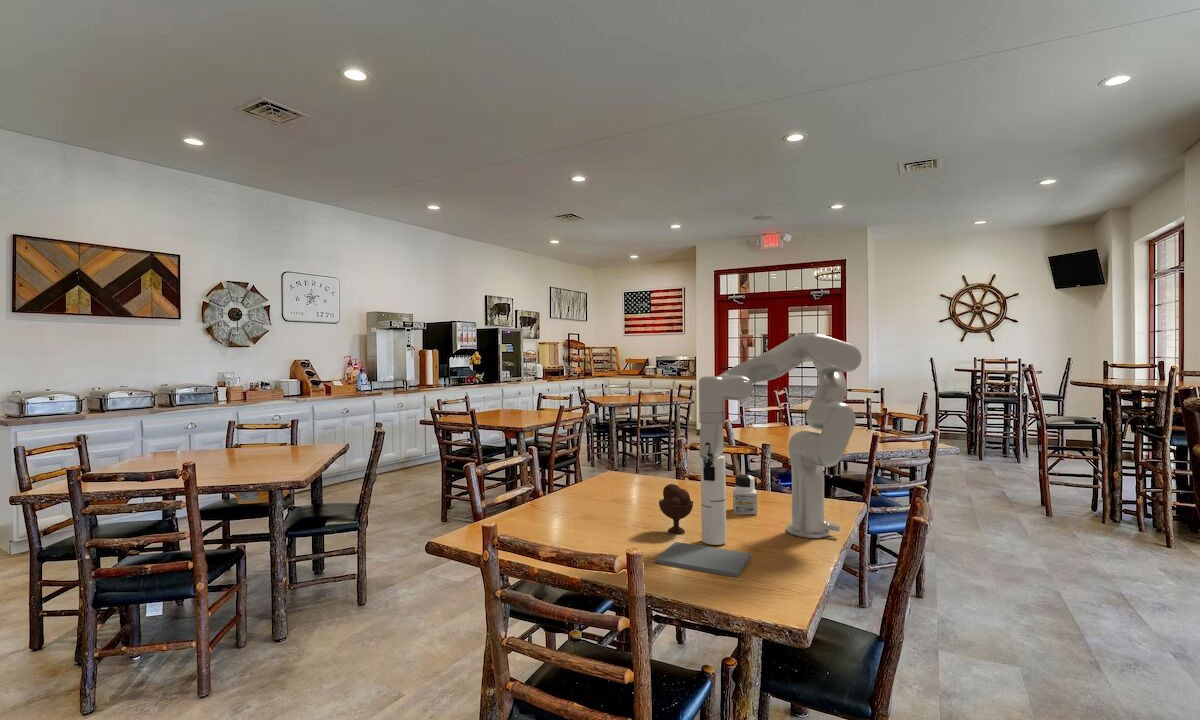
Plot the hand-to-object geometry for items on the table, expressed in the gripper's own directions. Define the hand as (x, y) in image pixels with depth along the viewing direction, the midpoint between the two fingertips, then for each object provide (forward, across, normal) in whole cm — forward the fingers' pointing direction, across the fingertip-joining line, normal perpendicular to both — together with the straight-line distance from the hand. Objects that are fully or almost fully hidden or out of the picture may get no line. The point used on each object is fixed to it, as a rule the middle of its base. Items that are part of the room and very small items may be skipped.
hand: (713, 477), depth 167 cm
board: (+19, +15, +2) cm, 25 cm away
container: (+20, -38, +1) cm, 43 cm away
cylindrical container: (+19, 0, 0) cm, 19 cm away
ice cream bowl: (+19, -5, -13) cm, 24 cm away
